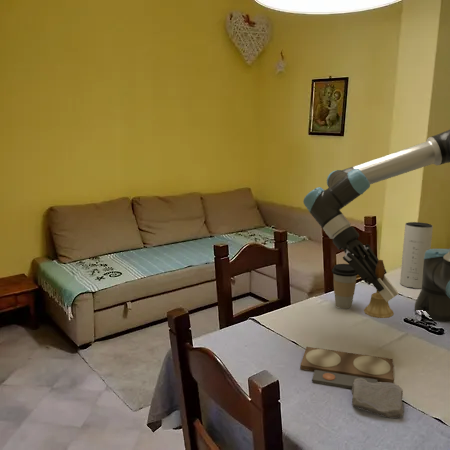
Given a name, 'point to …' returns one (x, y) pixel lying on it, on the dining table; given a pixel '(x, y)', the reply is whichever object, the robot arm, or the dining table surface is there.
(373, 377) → the board
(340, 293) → the coffee cup
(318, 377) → the pattern card
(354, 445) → the dining table surface
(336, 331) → the dining table surface
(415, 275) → the white tall cylinder
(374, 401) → the stone block
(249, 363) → the dining table surface
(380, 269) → the hand bell
